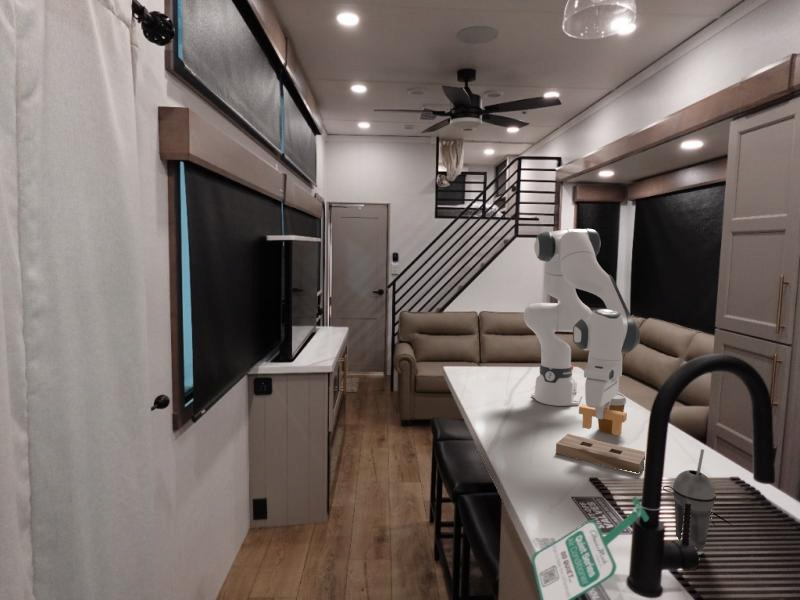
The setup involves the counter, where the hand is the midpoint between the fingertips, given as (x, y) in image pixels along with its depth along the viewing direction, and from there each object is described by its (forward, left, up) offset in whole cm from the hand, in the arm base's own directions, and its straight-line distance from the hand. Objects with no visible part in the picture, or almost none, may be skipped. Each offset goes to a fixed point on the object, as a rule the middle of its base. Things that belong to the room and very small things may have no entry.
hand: (602, 416), depth 136 cm
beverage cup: (+34, +26, -12) cm, 44 cm away
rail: (0, 0, -12) cm, 12 cm away
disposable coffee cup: (-25, -4, -12) cm, 28 cm away
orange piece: (0, 0, -4) cm, 4 cm away
